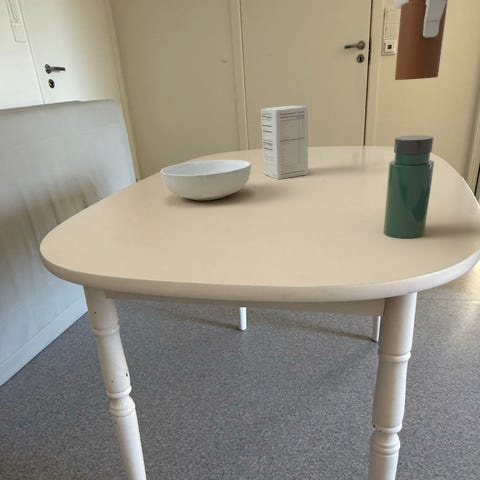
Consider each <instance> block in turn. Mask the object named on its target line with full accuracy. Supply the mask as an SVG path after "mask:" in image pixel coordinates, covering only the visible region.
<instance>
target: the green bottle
mask: <svg viewBox="0 0 480 480" xmlns="http://www.w3.org/2000/svg"><path fill="white" fill-rule="evenodd" d="M434 137H435V136H432V135H424V134H419V135H418V134H415V135H413V134H412V135H411V134H410V135H402V136H397V137H394V144H393V145H394V146H393V153H394V160H391V161H390V162H389V164H388V174H387V185H386V197H385V207H384V217H383V218H384V219H383V228H382V229H383V231H382V233H383V234H384V235H385V236H387V237H390V238H395V237H396V238H395V239H416V237H417V238H421V237H423V236H425V233H426V226H427V217H428V211H429V203H430V196H431V190H432V180H433V175H434V174H433V173H434V166H435V161H434V160H431V153H432V152H433V146H434V139H435V138H434ZM422 235H423V236H422Z"/></svg>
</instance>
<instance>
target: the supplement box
mask: <svg viewBox="0 0 480 480" xmlns="http://www.w3.org/2000/svg"><path fill="white" fill-rule="evenodd" d="M260 118H261V119H260V120H261V121H260V122H261V140H262V162H263V175H265V176H267V175H268V177H271V178H274V179H276V180H282V179H288V178H294V177H300V176H307V175H309V107H308V106H306V105H284V106H274V107H268V108H267V107H265V108H261V109H260Z"/></svg>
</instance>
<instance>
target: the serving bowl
mask: <svg viewBox="0 0 480 480" xmlns="http://www.w3.org/2000/svg"><path fill="white" fill-rule="evenodd" d="M251 169H252V163H251V162H250V161H247V160H242V159H208V160H196V161H190V162H182V163H177V164H171V165H169V166H165V167H164V168H161V170H160V176H161V180H162V182H163V184H164V185H165V187H166V188H167V190H168V191H169V192H171V193H172V194H173V195H174V196H175V195H176V196H177V197H181V198H184V199H189V200H192V201H201V202H203V201H214V200H219V199H223V198H225V197H227V196H230V195H233V194H235V193H236V192H238V191H240V190H241V189H242V188H244V186H245V185H246V184H247V182H248V181H249V179H250V176H251Z"/></svg>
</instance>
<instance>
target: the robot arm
mask: <svg viewBox="0 0 480 480" xmlns="http://www.w3.org/2000/svg"><path fill="white" fill-rule="evenodd" d="M392 1H393V5H394V8H395V9H396V10H401V6H402V5H403V4H405V3H409V0H392ZM445 4H446V0H426V5H427V7H426V13H425V19H424V22H423V23H422V31H421V37H422V38H431V37H435V36H437V35H438V31H439V23H440V19H441V16H442V13H443V10H444V7H445Z"/></svg>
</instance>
